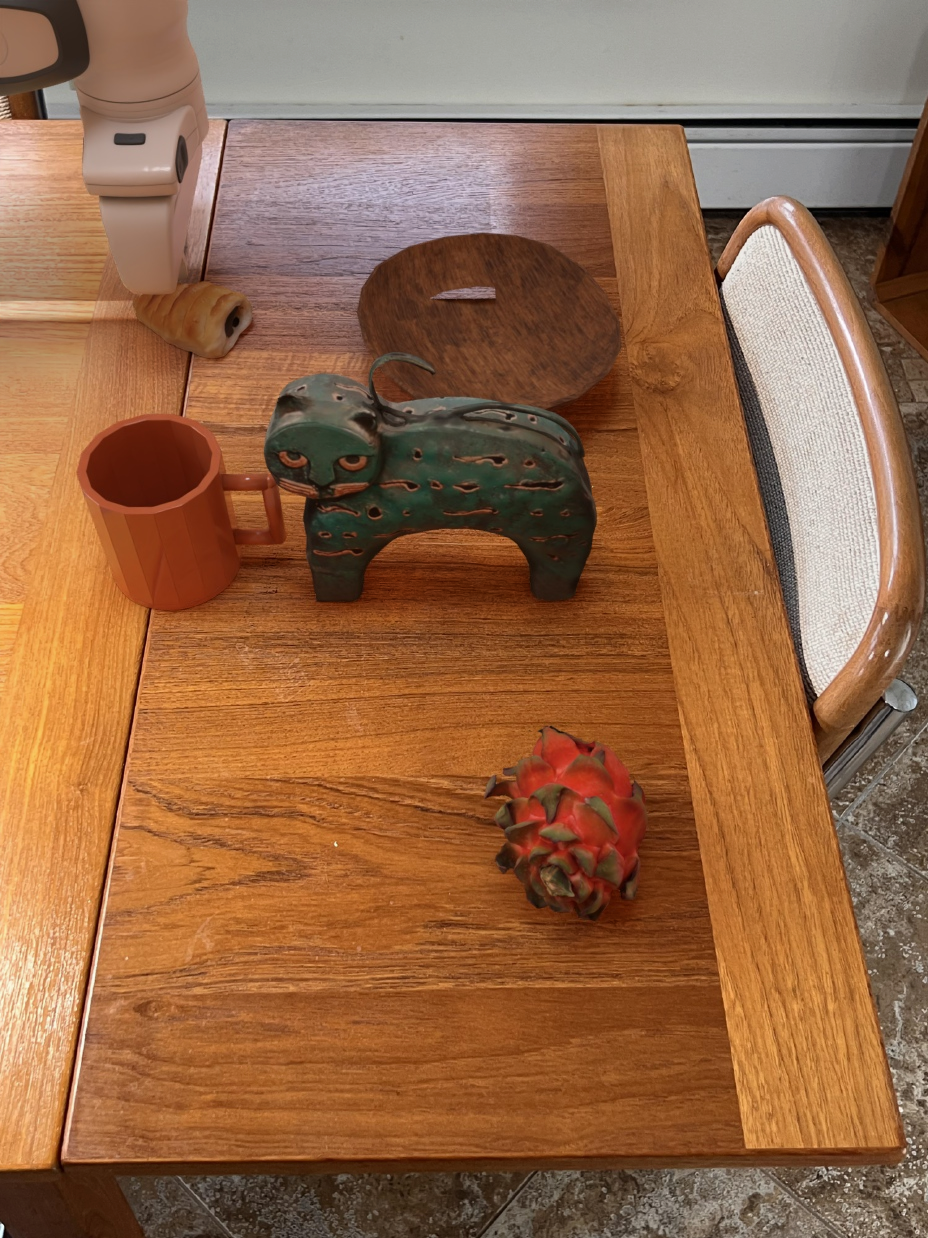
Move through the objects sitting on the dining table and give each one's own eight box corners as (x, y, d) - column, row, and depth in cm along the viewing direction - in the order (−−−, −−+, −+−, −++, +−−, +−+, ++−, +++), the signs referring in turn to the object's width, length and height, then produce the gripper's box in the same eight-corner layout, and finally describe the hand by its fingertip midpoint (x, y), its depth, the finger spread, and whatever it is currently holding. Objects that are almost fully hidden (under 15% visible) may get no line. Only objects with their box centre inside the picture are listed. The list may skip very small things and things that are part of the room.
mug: (102, 611, 77) (65, 514, 69) (123, 513, 82) (90, 413, 74) (285, 609, 77) (268, 512, 69) (294, 512, 82) (279, 412, 75)
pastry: (120, 336, 94) (110, 297, 91) (163, 289, 98) (155, 250, 95) (222, 366, 92) (215, 327, 89) (262, 317, 96) (256, 278, 92)
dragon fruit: (564, 973, 64) (538, 798, 72) (700, 916, 61) (655, 740, 69) (474, 912, 59) (458, 731, 67) (617, 846, 55) (580, 665, 64)
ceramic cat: (288, 615, 77) (247, 384, 61) (298, 542, 81) (261, 307, 65) (587, 619, 77) (623, 390, 61) (581, 546, 81) (615, 312, 65)
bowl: (407, 488, 84) (405, 438, 80) (332, 307, 96) (327, 255, 92) (655, 431, 88) (665, 380, 84) (552, 264, 100) (556, 213, 96)
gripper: (122, 40, 90) (157, 198, 101) (77, 188, 78) (122, 350, 89) (203, 40, 90) (229, 198, 101) (171, 188, 78) (204, 350, 89)
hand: (179, 270), depth 95 cm, fingers closed
